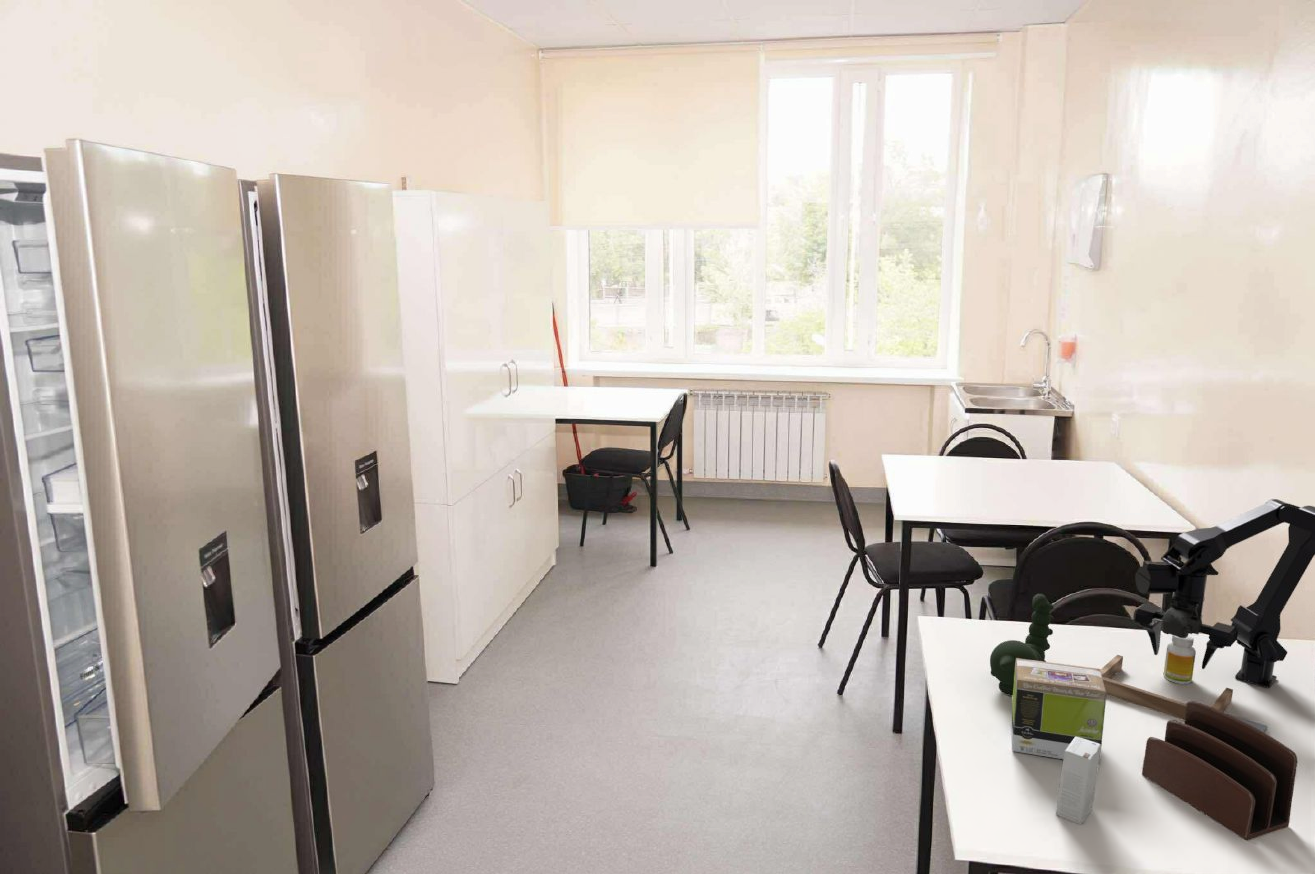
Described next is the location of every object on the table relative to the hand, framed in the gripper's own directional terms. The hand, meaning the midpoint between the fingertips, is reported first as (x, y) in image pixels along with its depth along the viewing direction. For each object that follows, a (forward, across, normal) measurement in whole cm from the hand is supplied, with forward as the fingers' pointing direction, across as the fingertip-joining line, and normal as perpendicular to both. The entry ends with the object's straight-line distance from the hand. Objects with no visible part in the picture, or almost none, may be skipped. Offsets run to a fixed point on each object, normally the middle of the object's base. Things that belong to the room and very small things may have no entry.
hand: (1179, 661), depth 199 cm
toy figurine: (+4, -23, -26) cm, 35 cm away
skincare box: (+4, +3, -64) cm, 64 cm away
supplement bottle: (+4, 0, 0) cm, 4 cm away
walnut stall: (+4, 0, -12) cm, 12 cm away
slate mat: (+4, +16, -16) cm, 23 cm away
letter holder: (+4, +18, -44) cm, 47 cm away
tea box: (+4, -8, -46) cm, 47 cm away
